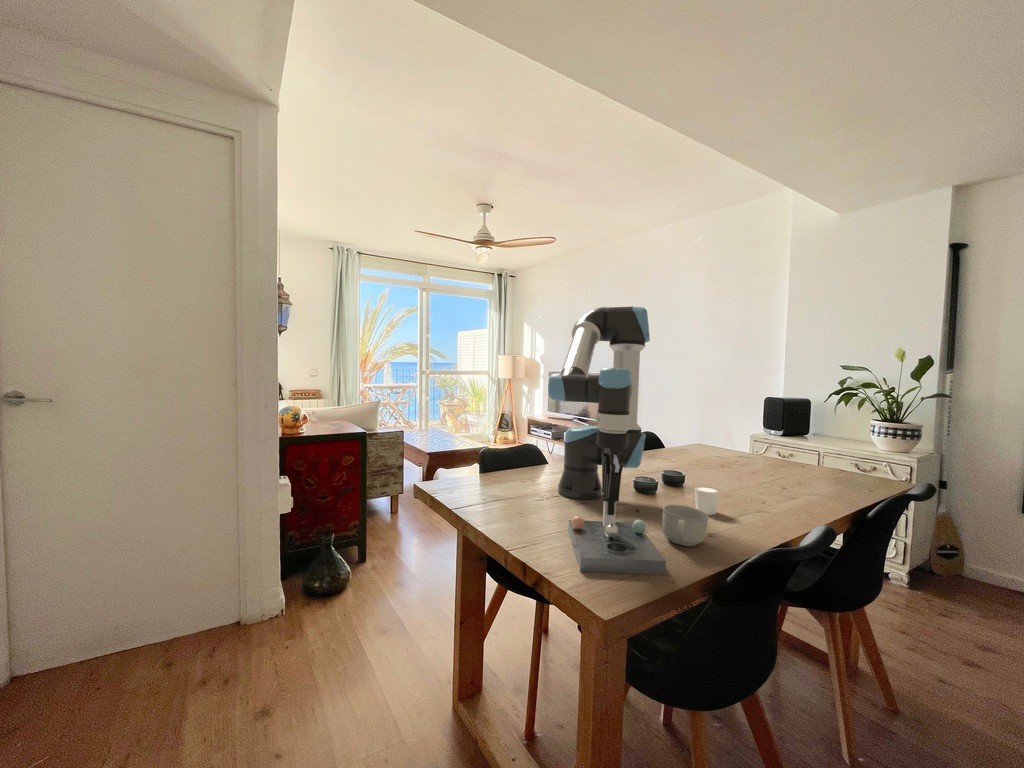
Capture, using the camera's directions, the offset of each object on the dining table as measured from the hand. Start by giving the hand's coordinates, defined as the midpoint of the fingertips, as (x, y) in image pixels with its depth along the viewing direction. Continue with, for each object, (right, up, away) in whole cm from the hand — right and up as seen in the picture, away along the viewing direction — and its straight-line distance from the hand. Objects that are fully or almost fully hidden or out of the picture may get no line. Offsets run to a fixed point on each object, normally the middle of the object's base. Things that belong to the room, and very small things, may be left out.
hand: (608, 526), depth 103 cm
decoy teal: (+8, 0, +1) cm, 8 cm away
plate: (0, -5, -3) cm, 6 cm away
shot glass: (+36, -5, +27) cm, 46 cm away
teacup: (+19, -5, +3) cm, 20 cm away
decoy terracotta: (-7, 0, +2) cm, 8 cm away
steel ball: (0, 0, -3) cm, 3 cm away
